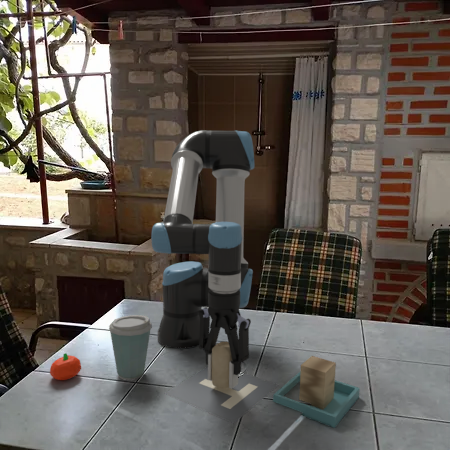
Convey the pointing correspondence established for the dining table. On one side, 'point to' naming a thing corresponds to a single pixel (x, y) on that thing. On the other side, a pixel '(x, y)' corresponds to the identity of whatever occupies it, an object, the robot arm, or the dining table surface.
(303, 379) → the wooden block
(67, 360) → the pumpkin
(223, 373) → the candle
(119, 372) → the disposable coffee cup
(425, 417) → the dining table surface
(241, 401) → the board
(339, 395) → the tray
